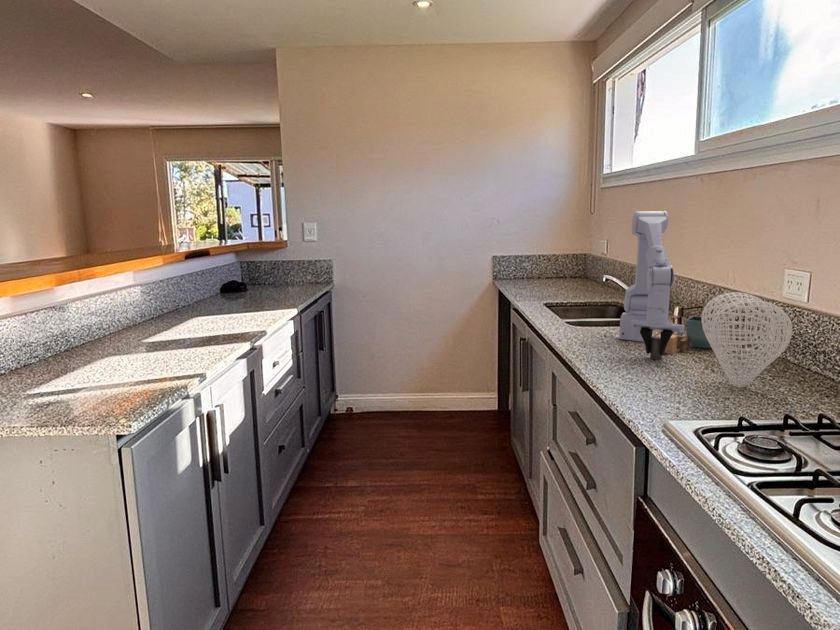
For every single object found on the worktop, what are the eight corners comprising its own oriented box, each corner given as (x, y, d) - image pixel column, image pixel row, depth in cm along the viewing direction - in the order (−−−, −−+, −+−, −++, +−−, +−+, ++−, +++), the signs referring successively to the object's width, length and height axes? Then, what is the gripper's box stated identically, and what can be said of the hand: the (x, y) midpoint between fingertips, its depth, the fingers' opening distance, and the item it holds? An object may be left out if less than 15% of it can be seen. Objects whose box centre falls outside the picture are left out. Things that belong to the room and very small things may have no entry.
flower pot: (714, 351, 176) (716, 322, 174) (683, 347, 181) (685, 319, 179) (719, 346, 182) (722, 318, 181) (690, 342, 188) (692, 315, 186)
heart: (692, 370, 153) (698, 288, 149) (756, 374, 149) (764, 290, 145) (715, 402, 126) (723, 303, 122) (795, 407, 122) (805, 305, 118)
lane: (649, 348, 180) (650, 337, 179) (656, 343, 186) (657, 333, 185) (683, 352, 174) (684, 341, 173) (689, 347, 180) (690, 336, 179)
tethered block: (645, 357, 167) (646, 337, 166) (659, 349, 178) (660, 330, 177) (663, 360, 164) (664, 339, 163) (676, 351, 175) (677, 332, 174)
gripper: (628, 307, 165) (625, 353, 167) (681, 311, 156) (678, 360, 158) (635, 304, 170) (632, 348, 173) (687, 308, 162) (684, 355, 164)
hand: (655, 353), depth 166 cm, fingers closed on tethered block, 3 cm apart
